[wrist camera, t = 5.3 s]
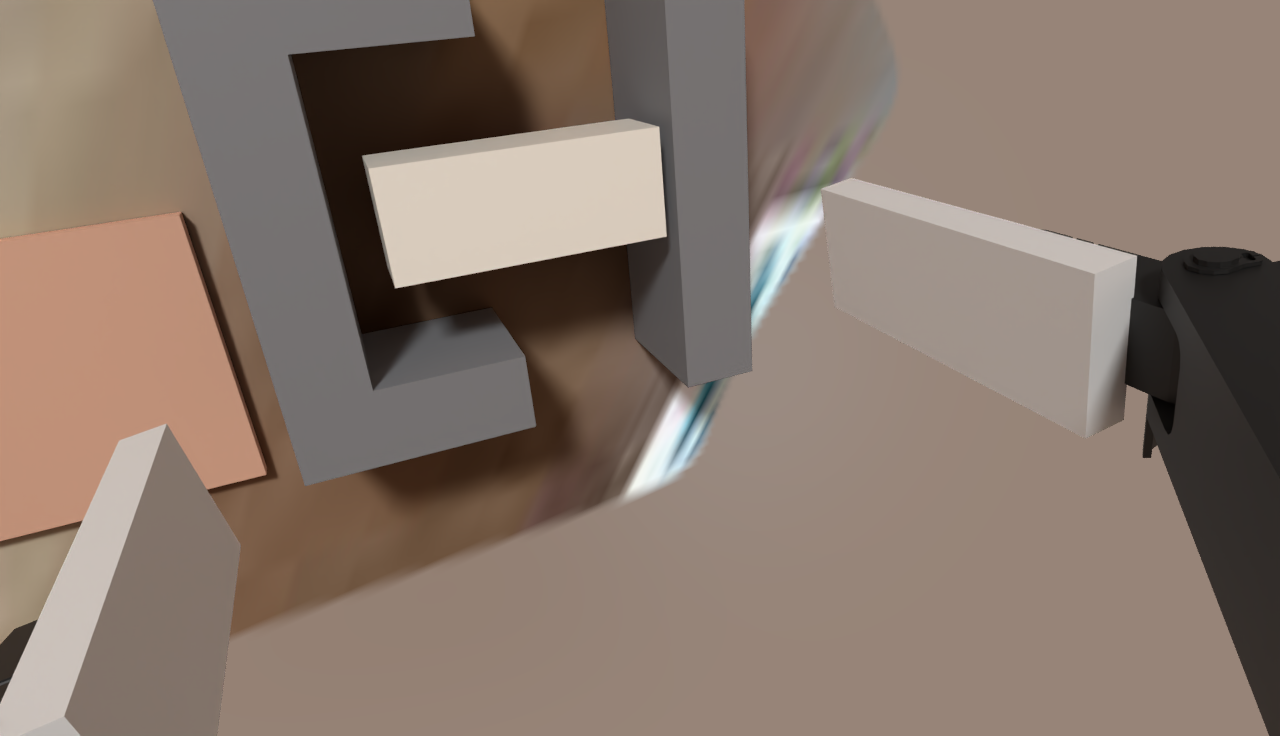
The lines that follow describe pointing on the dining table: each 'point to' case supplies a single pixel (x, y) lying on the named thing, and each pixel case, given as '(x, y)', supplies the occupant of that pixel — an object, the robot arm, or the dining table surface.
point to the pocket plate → (474, 341)
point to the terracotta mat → (109, 365)
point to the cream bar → (516, 198)
